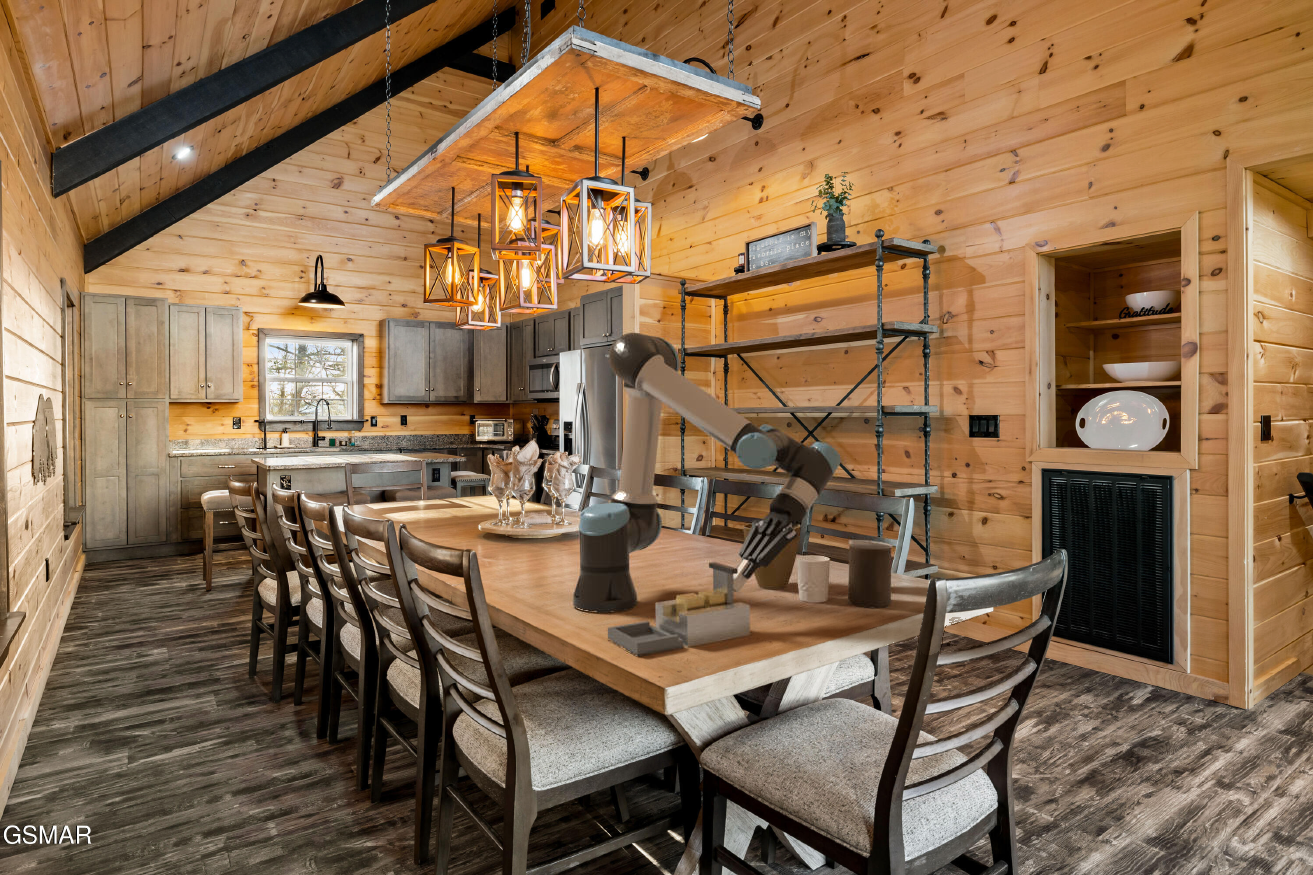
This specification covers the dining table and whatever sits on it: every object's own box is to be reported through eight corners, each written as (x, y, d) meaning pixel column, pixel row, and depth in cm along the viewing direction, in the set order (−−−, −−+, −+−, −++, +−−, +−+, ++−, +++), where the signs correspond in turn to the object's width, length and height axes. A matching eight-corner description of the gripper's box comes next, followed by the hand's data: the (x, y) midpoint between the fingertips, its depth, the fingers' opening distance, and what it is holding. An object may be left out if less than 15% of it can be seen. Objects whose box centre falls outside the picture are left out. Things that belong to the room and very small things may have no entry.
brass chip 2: (714, 608, 152) (714, 589, 152) (725, 612, 149) (725, 593, 149) (698, 610, 150) (698, 591, 150) (709, 615, 147) (709, 595, 147)
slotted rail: (715, 621, 157) (715, 593, 157) (749, 634, 147) (749, 605, 147) (655, 631, 150) (655, 602, 149) (687, 647, 139) (687, 615, 139)
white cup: (830, 604, 171) (830, 561, 171) (796, 602, 172) (796, 560, 172) (829, 596, 179) (829, 555, 178) (796, 595, 180) (796, 554, 180)
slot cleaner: (715, 604, 155) (714, 562, 154) (737, 612, 148) (737, 568, 148) (709, 605, 154) (708, 562, 154) (731, 613, 147) (731, 569, 147)
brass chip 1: (692, 612, 149) (692, 592, 149) (703, 616, 146) (703, 596, 146) (676, 614, 147) (676, 595, 147) (687, 619, 144) (687, 599, 144)
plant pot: (793, 579, 198) (792, 520, 197) (807, 592, 183) (807, 528, 183) (738, 580, 197) (738, 521, 197) (748, 593, 182) (748, 529, 182)
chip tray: (651, 632, 149) (651, 620, 149) (683, 647, 139) (682, 634, 139) (607, 640, 144) (607, 627, 144) (637, 656, 134) (637, 643, 134)
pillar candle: (866, 609, 165) (867, 544, 165) (839, 600, 174) (840, 537, 174) (900, 605, 169) (901, 541, 169) (872, 596, 178) (872, 535, 178)
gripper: (822, 516, 155) (762, 605, 147) (782, 510, 166) (724, 592, 158) (804, 493, 152) (741, 583, 144) (764, 488, 164) (703, 571, 155)
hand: (732, 588), depth 151 cm, fingers closed
